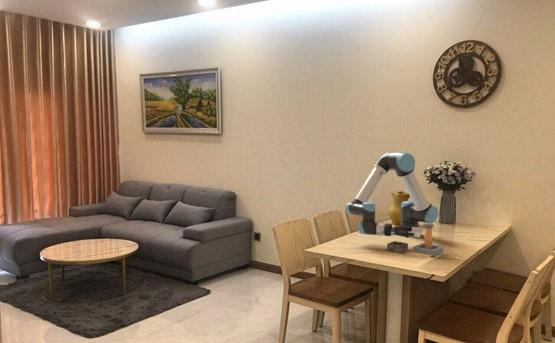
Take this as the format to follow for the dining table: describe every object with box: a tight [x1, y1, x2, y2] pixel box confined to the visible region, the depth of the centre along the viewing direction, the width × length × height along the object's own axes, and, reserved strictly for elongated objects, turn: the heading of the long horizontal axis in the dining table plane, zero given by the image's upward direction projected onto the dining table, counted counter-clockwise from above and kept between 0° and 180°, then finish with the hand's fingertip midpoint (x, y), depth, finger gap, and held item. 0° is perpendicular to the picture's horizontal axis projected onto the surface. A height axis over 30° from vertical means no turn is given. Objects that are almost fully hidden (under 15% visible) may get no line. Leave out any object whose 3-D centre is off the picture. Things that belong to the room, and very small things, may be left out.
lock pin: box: [423, 223, 435, 250], centre depth 263 cm, size 6×6×16 cm
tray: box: [411, 242, 445, 259], centre depth 264 cm, size 13×13×4 cm
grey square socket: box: [383, 240, 412, 255], centre depth 266 cm, size 12×12×6 cm
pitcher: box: [387, 190, 411, 226], centre depth 350 cm, size 17×19×25 cm
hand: (421, 232), depth 264 cm, fingers open, 13 cm apart
